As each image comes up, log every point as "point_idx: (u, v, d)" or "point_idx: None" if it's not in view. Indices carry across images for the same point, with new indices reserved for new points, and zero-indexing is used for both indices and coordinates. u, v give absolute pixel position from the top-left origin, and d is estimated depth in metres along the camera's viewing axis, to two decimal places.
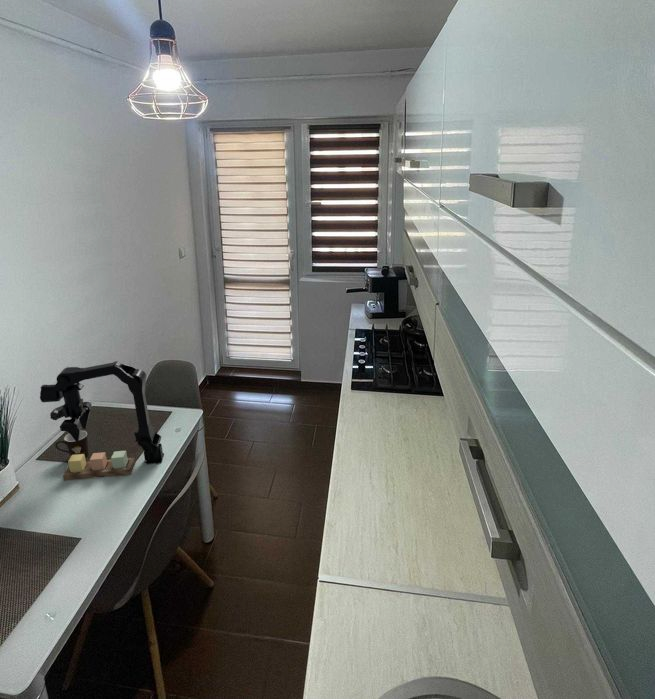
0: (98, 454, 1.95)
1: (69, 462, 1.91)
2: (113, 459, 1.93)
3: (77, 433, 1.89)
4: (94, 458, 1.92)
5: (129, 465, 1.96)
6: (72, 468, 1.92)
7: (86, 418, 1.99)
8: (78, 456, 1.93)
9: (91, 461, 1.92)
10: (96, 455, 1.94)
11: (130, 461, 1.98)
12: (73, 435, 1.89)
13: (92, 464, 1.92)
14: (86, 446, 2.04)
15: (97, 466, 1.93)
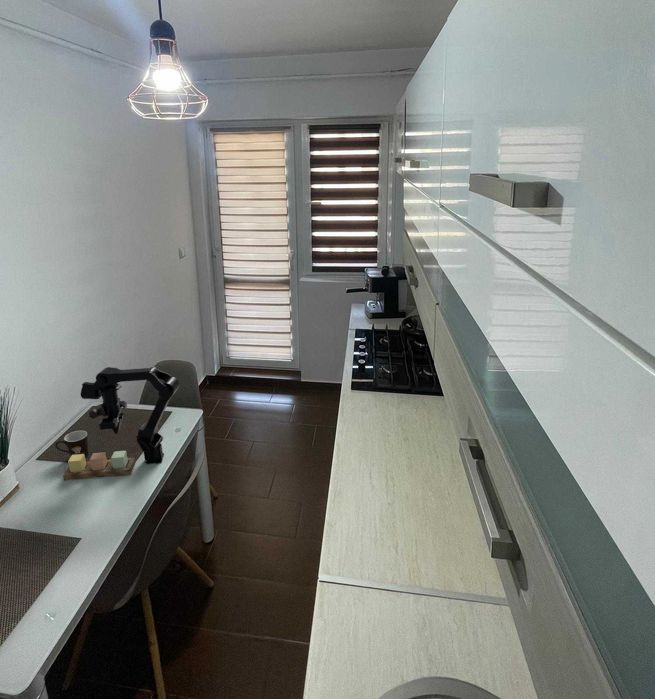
0: (98, 454, 1.95)
1: (69, 462, 1.91)
2: (113, 459, 1.93)
3: (117, 426, 1.98)
4: (94, 458, 1.92)
5: (129, 465, 1.96)
6: (72, 468, 1.92)
7: (119, 422, 2.00)
8: (78, 456, 1.93)
9: (91, 461, 1.92)
10: (96, 455, 1.94)
11: (130, 461, 1.98)
12: None
13: (92, 464, 1.92)
14: (86, 446, 2.04)
15: (97, 466, 1.93)
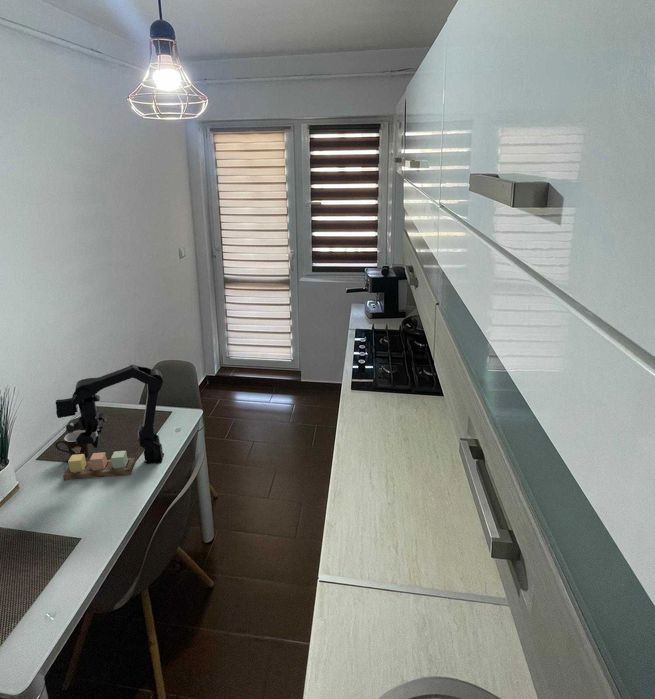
0: (98, 454, 1.95)
1: (69, 462, 1.91)
2: (113, 459, 1.93)
3: (96, 440, 1.90)
4: (94, 458, 1.92)
5: (129, 465, 1.96)
6: (72, 468, 1.92)
7: None
8: (78, 456, 1.93)
9: (91, 461, 1.92)
10: (96, 455, 1.94)
11: (130, 461, 1.98)
12: None
13: (92, 464, 1.92)
14: (86, 446, 2.04)
15: (97, 466, 1.93)
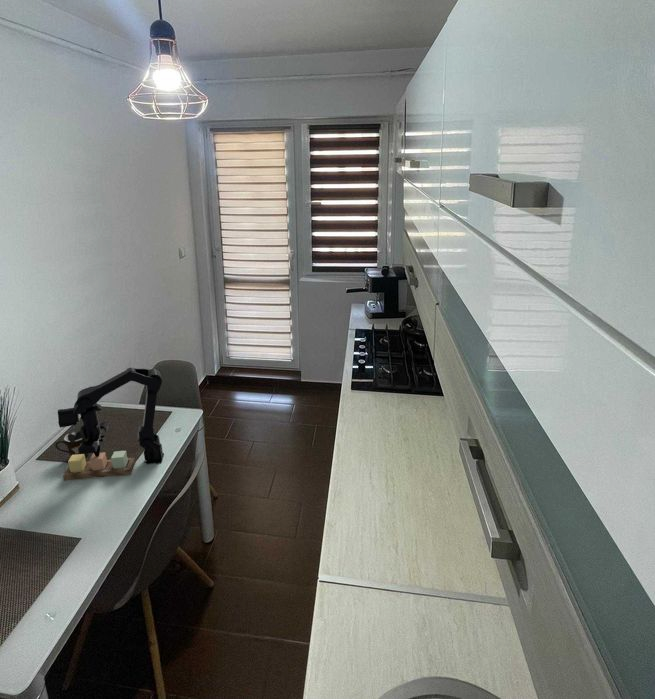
0: None
1: (69, 462, 1.91)
2: (113, 459, 1.93)
3: (98, 449, 1.91)
4: (94, 458, 1.92)
5: (129, 465, 1.96)
6: (72, 468, 1.92)
7: None
8: (78, 456, 1.93)
9: (91, 461, 1.92)
10: None
11: (130, 461, 1.98)
12: None
13: (92, 464, 1.92)
14: None
15: (97, 466, 1.93)
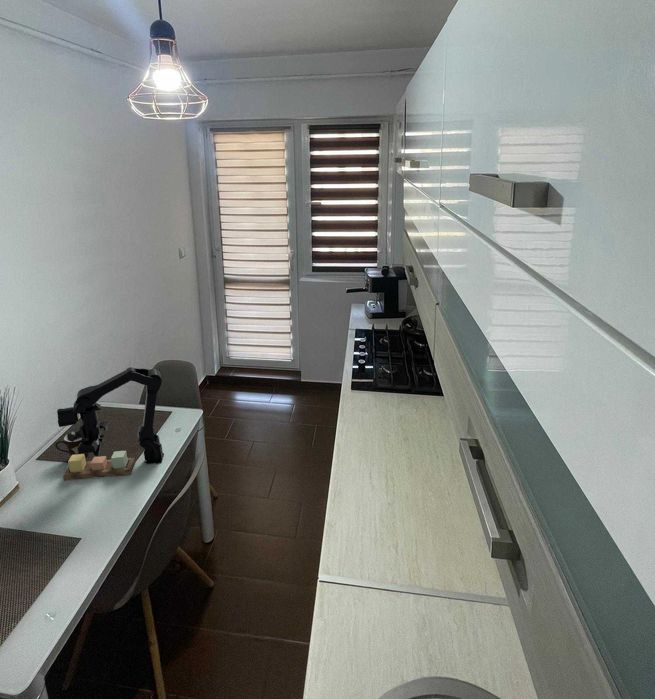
0: (99, 458, 1.95)
1: (69, 462, 1.91)
2: (113, 459, 1.93)
3: (97, 448, 1.91)
4: (95, 462, 1.93)
5: (129, 465, 1.96)
6: (72, 468, 1.92)
7: (99, 444, 1.92)
8: (78, 456, 1.93)
9: (92, 465, 1.92)
10: (97, 459, 1.95)
11: (130, 461, 1.98)
12: None
13: (93, 468, 1.93)
14: None
15: None
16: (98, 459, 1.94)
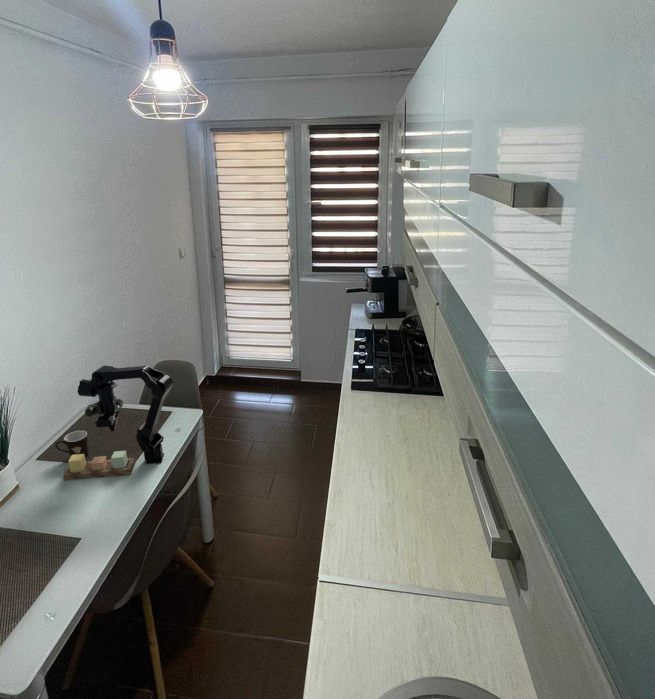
0: (99, 458, 1.95)
1: (69, 462, 1.91)
2: (113, 459, 1.93)
3: (113, 424, 1.99)
4: (95, 462, 1.93)
5: (129, 465, 1.96)
6: (72, 468, 1.92)
7: None
8: (78, 456, 1.93)
9: (92, 465, 1.92)
10: (97, 459, 1.95)
11: (130, 461, 1.98)
12: (110, 426, 2.00)
13: (93, 468, 1.93)
14: (86, 446, 2.04)
15: None
16: (98, 459, 1.94)
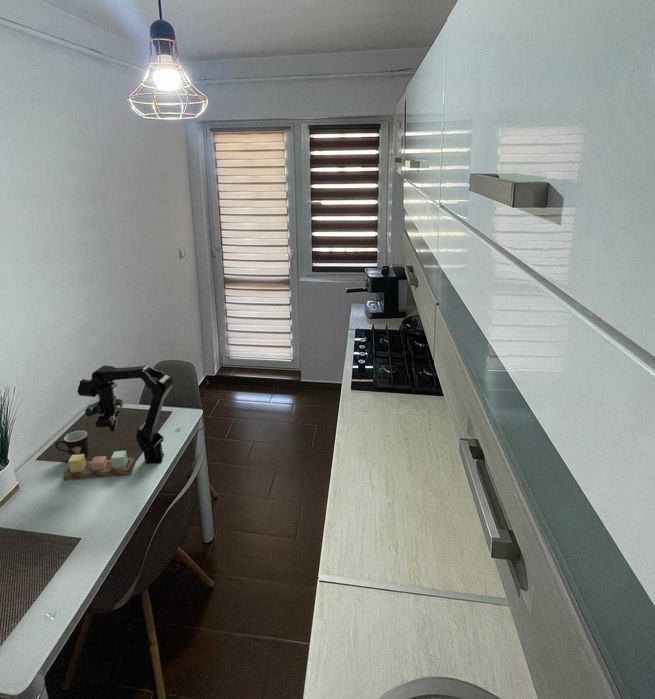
0: (99, 458, 1.95)
1: (69, 462, 1.91)
2: (113, 459, 1.93)
3: (114, 424, 1.99)
4: (95, 462, 1.93)
5: (129, 465, 1.96)
6: (72, 468, 1.92)
7: (115, 420, 2.01)
8: (78, 456, 1.93)
9: (92, 465, 1.92)
10: (97, 459, 1.95)
11: (130, 461, 1.98)
12: (110, 426, 2.00)
13: (93, 468, 1.93)
14: (86, 446, 2.04)
15: None
16: (98, 459, 1.94)
